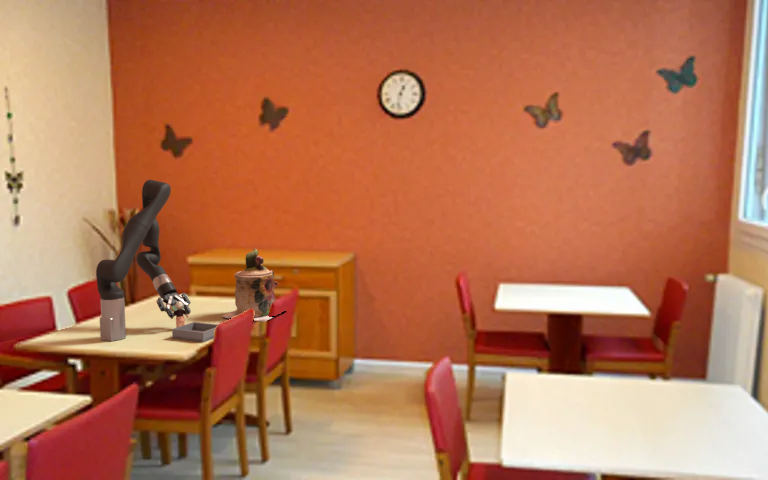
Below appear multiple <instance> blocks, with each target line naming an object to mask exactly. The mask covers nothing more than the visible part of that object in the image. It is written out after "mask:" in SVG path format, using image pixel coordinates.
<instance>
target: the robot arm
mask: <svg viewBox="0 0 768 480" xmlns="http://www.w3.org/2000/svg"><path fill="white" fill-rule="evenodd" d="M171 192H172V188H171V185H170V184H169V183H167V182H164V181H160V180H154V179H147V180H146V181H145V182H144V183H143V185H142V190H141V200H142V210H140V211H138V212H136V213H135V214H134V215H132V216H131V217H130V218H129V219H128V221H127V222H126V224H125V226H124V228H123V229H122V234H121V245H122V247H121V249H120V251H119V253H118V255H117V257H116V258H115V259H103V260H100V261H99V262H98V264H97V265H96V271H95V274H96V276H95V278H96V285H97V287H96V288H97V291H98V294H99V297H100V314H101V316H100V317H99V334H100V335H99V336H100V340H101V341H108V342H113V341H114V342H115V341H121V340H123V339H126V338H127V328H126V325H127V324H126V308H125V305H126V304H125V292H124V290H123V289H122V288H120V287H119V286H118V285H117V283H120V282H123V281H124V280H125V278H126V277H127V275H128V273H129V270H130V269H131V266H132V263H133V261H134V259H136V263H137V265H138V266H139V268H140V269H141V270H142V271H143V272H144V273H145V274H146V275H147V276H149V278H150V281H151V282H152V284H153V287H154V289H155V291H156V292H157V293H158V295H159V296H158V297H157V299H156V304H157V306H158V308H159V311H160V312H165V313H166V314H167V316H168V318H170V319H171V318H173V319H174V317H175V316H174V314H173V312H174V311H172V309H171V308H170V307H172V306H173V305H175V304H176V303H177V302H179V301H181V302H182V303H183V304H184V305H183V308H184V309H183V310H185V311H186V312H187V314H188V315H190V314H191V312H192V311H191V308H190V304H191V300H190V299H189V296H188V295H187V294H186V293H185V292H182V293H181V294H179V293H178V290H177V288H176V286H175V285H174V283H173V281H172V279H171V278H170V276H168V274H167V272H166V271H165V268H164V267H163V266H162V265H159V264H160V262H161V259H162V257H161V256H162V255H161V252H160V251H161V250H160V244H159V240H160V237H159V236H160V225H159V222H158V220H157V217H158V215H159V213H160V212H161V210H162V209H163V207H165V205H166V203H167V202H168V200H169V198H170V195H171ZM141 245H143V246H144V247H148V248H149V250H146V251H145V250H143V251H139V252H138V250H139V249H140V247H141ZM135 257H136V258H135ZM186 295H187V296H188V297H187V296H186ZM173 316H174V317H173Z"/></svg>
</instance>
